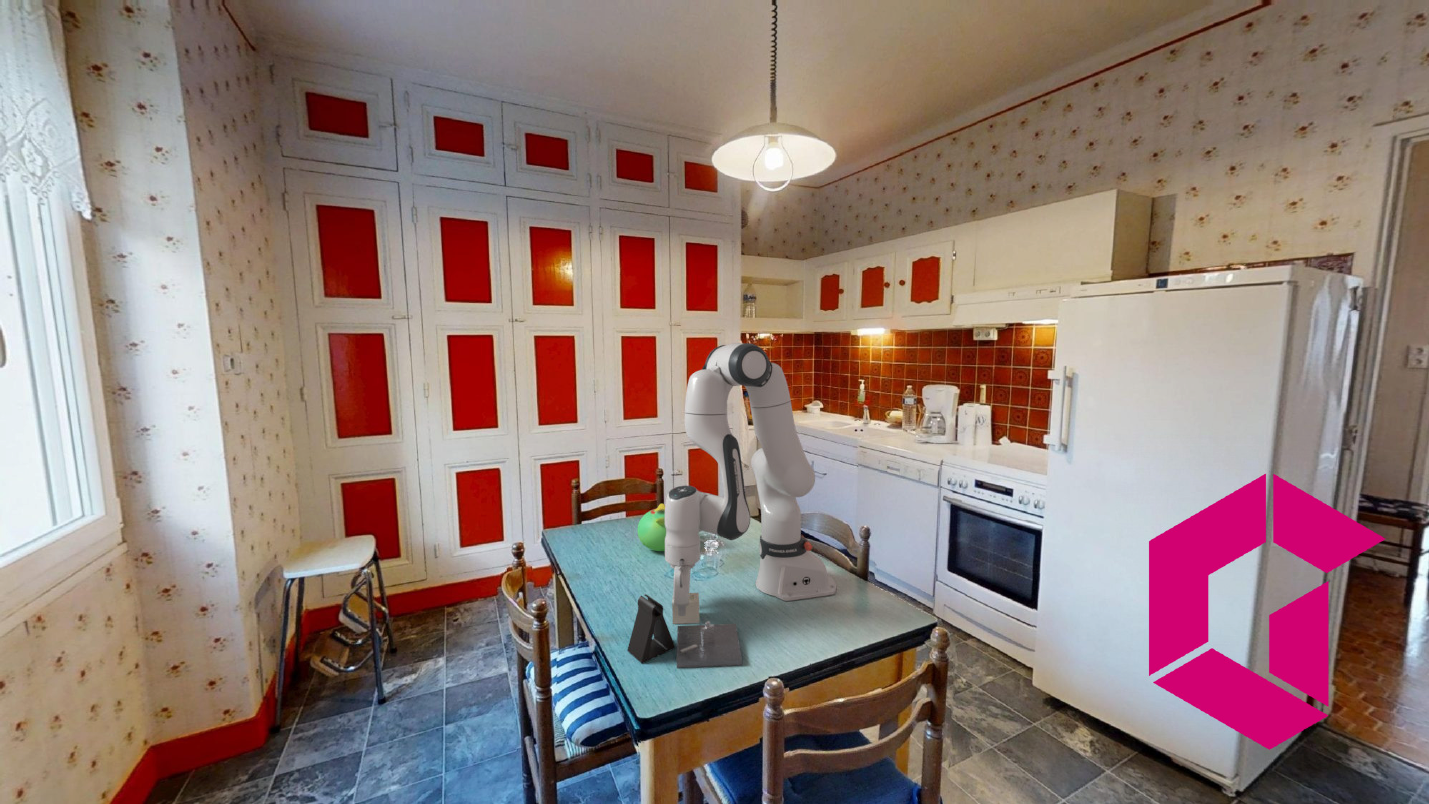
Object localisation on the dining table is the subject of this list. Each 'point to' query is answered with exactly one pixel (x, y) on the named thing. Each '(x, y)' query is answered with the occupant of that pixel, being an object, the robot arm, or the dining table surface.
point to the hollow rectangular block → (687, 611)
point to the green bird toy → (653, 529)
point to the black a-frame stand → (649, 631)
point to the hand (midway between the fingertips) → (682, 604)
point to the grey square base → (708, 646)
